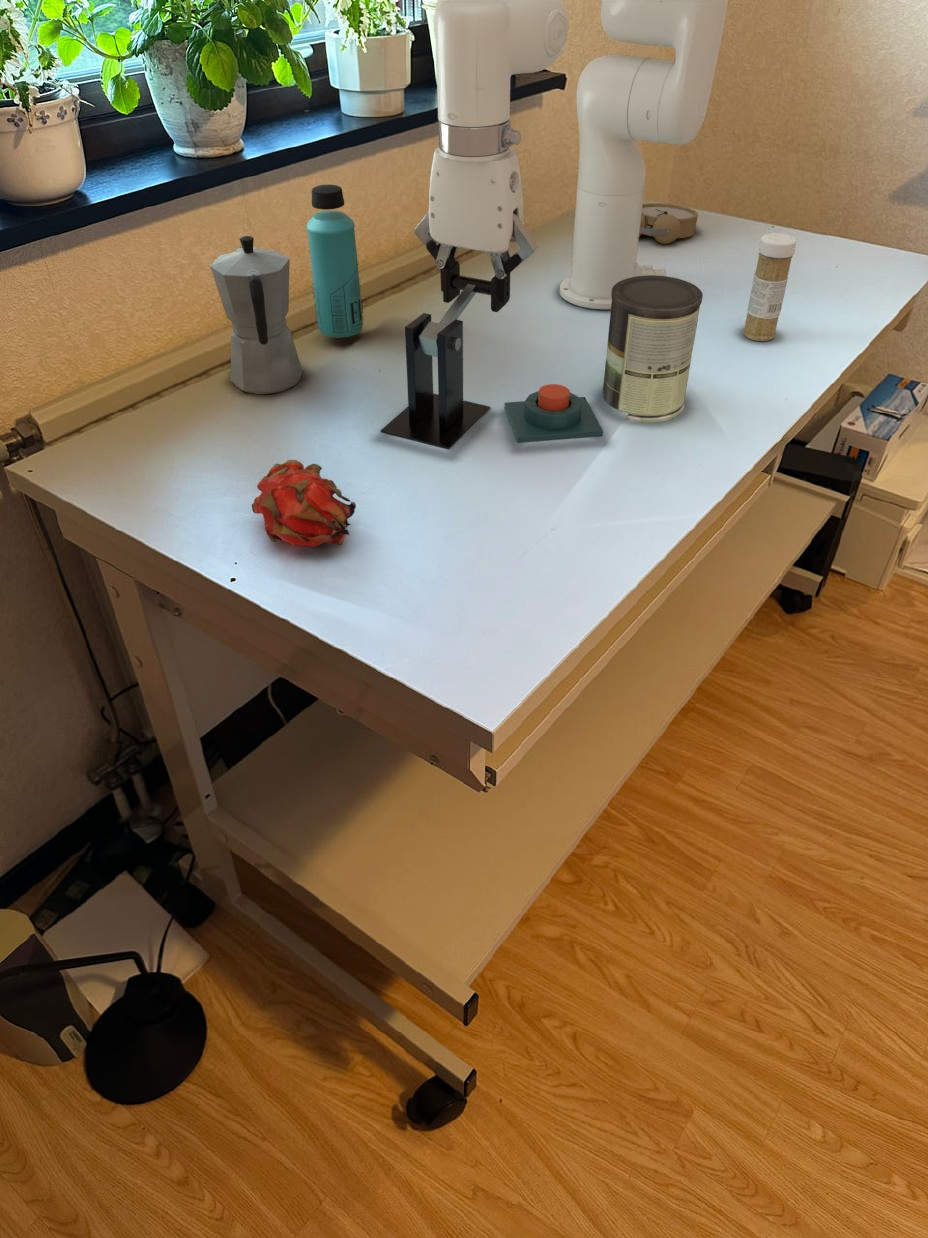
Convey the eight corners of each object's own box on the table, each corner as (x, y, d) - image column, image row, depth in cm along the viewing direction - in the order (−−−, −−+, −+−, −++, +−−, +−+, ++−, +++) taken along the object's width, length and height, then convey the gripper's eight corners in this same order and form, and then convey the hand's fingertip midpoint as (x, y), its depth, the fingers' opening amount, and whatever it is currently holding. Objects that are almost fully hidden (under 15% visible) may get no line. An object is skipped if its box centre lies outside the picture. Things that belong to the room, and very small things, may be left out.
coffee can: (583, 403, 116) (593, 291, 107) (634, 377, 121) (648, 268, 112) (650, 432, 110) (667, 316, 101) (701, 403, 116) (721, 291, 106)
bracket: (425, 399, 117) (422, 299, 108) (490, 415, 113) (492, 312, 105) (380, 439, 109) (373, 334, 101) (449, 457, 106) (447, 350, 98)
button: (564, 396, 110) (565, 382, 109) (571, 410, 108) (573, 397, 107) (535, 398, 110) (535, 385, 109) (541, 413, 107) (542, 399, 106)
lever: (457, 286, 112) (455, 268, 110) (499, 293, 110) (497, 275, 108) (408, 351, 105) (405, 333, 103) (452, 360, 103) (449, 342, 102)
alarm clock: (709, 210, 164) (675, 217, 153) (702, 240, 166) (668, 249, 155) (651, 199, 168) (614, 205, 158) (645, 228, 171) (608, 236, 160)
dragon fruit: (274, 521, 99) (349, 582, 94) (216, 511, 92) (294, 576, 86) (310, 451, 97) (389, 509, 92) (253, 435, 89) (336, 497, 84)
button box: (583, 408, 115) (586, 382, 112) (601, 443, 108) (604, 416, 106) (503, 414, 114) (504, 388, 111) (517, 450, 107) (518, 422, 105)
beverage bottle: (357, 350, 127) (344, 196, 115) (311, 346, 129) (293, 193, 116) (370, 330, 132) (359, 180, 119) (325, 327, 133) (310, 178, 120)
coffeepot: (227, 360, 125) (202, 221, 113) (297, 353, 127) (280, 215, 115) (235, 414, 114) (209, 266, 102) (312, 405, 116) (295, 258, 104)
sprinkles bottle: (767, 327, 133) (788, 230, 124) (780, 341, 129) (803, 242, 121) (736, 330, 132) (755, 232, 124) (749, 343, 129) (769, 244, 120)
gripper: (562, 137, 98) (554, 303, 110) (419, 120, 104) (426, 280, 116) (534, 156, 93) (528, 328, 106) (386, 137, 99) (396, 302, 111)
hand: (475, 301), depth 111 cm, fingers closed on lever, 5 cm apart
